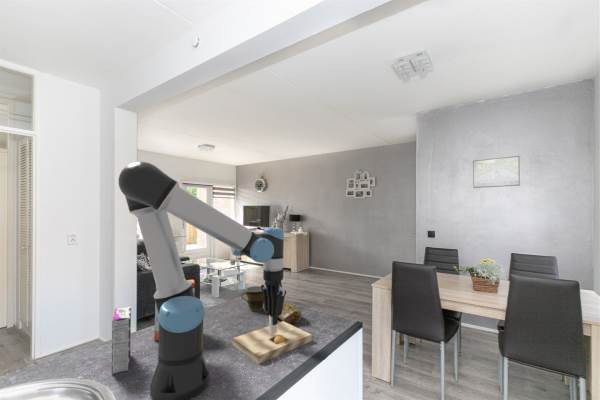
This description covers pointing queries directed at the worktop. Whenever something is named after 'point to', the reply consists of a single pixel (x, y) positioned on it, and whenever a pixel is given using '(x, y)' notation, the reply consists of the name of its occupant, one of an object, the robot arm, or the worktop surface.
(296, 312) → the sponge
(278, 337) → the ball
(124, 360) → the candy bar box
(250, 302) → the ceramic cup
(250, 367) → the worktop surface
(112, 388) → the worktop surface
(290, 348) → the board
